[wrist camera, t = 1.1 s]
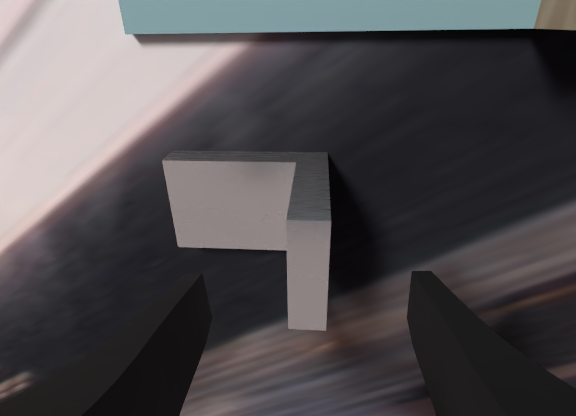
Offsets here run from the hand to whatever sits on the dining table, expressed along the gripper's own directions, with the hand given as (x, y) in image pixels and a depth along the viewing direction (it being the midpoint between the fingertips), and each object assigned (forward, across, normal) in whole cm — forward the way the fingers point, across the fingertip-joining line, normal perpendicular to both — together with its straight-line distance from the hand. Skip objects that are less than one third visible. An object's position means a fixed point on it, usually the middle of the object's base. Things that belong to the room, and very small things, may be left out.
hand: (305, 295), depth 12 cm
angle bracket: (+8, +3, 0) cm, 8 cm away
